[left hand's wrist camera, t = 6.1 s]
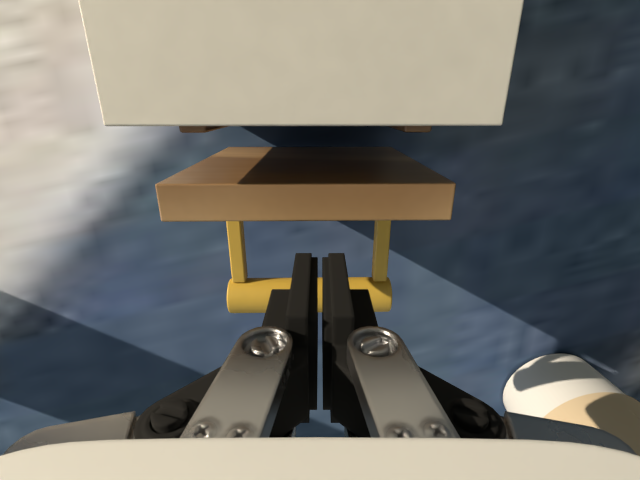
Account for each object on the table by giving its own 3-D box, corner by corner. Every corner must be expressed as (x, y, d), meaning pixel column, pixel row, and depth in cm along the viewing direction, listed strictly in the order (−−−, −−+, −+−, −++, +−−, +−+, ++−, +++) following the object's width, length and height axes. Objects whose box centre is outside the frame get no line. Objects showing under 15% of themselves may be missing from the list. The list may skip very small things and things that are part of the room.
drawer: (383, 257, 22) (431, 364, 13) (238, 258, 22) (185, 367, 13) (418, -240, 14) (598, -834, 5) (192, -244, 14) (-23, -859, 5)
